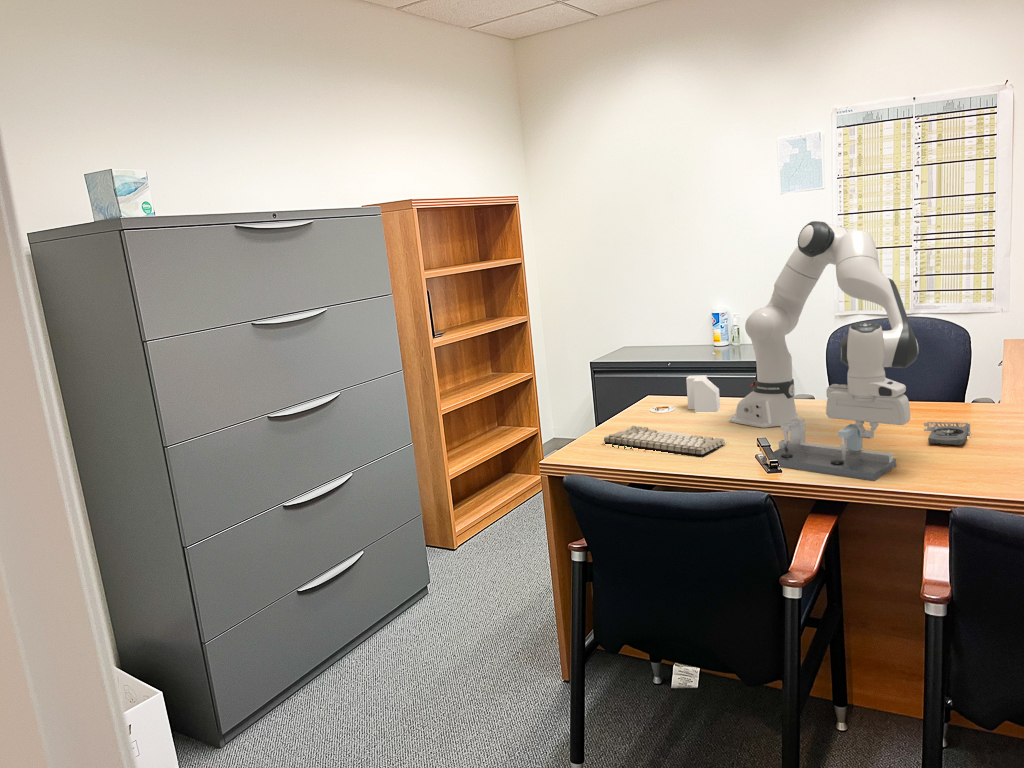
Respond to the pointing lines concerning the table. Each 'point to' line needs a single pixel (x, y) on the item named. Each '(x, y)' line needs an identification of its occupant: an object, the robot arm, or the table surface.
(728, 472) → the table surface
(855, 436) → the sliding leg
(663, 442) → the mechanical keyboard
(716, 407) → the grey chamfered block
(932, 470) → the table surface
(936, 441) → the graphics card
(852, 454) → the grey fixture base
